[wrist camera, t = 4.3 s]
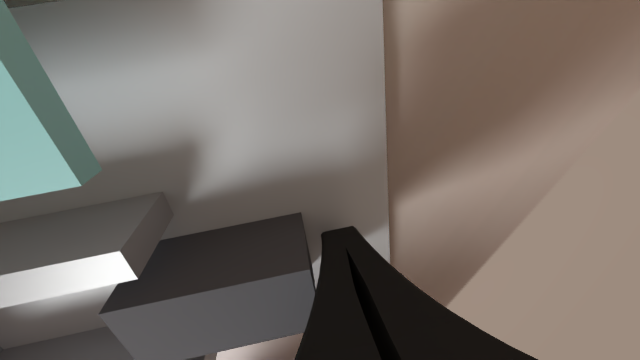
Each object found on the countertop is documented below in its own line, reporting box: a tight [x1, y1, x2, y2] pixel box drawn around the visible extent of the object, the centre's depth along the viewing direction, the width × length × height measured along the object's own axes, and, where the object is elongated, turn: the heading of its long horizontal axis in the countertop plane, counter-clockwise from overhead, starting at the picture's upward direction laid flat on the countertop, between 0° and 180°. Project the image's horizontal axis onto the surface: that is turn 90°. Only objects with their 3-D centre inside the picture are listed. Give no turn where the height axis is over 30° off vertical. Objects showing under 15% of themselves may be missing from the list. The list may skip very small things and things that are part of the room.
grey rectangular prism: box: [98, 212, 316, 360], centre depth 10 cm, size 3×6×3 cm, turn 98°
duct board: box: [0, 0, 390, 360], centre depth 9 cm, size 13×18×4 cm
